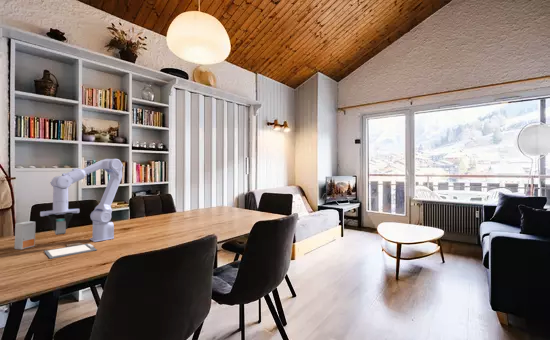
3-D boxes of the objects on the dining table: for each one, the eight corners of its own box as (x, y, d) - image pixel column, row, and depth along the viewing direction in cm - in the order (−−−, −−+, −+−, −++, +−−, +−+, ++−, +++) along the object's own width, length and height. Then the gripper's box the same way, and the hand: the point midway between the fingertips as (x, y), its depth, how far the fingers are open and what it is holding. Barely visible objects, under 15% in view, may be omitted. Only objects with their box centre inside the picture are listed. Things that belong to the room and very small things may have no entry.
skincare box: (21, 249, 124) (21, 223, 124) (14, 249, 125) (14, 223, 125) (35, 246, 130) (36, 221, 130) (28, 245, 131) (29, 220, 131)
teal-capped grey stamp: (64, 232, 130) (64, 218, 130) (65, 233, 128) (65, 219, 128) (54, 233, 128) (54, 219, 128) (56, 235, 125) (56, 220, 125)
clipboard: (88, 244, 135) (88, 242, 135) (96, 250, 125) (96, 248, 125) (44, 251, 122) (44, 249, 122) (50, 259, 113) (50, 256, 113)
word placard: (80, 242, 137) (80, 242, 137) (82, 244, 134) (82, 243, 134) (65, 245, 132) (65, 244, 132) (67, 246, 130) (67, 246, 130)
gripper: (77, 199, 136) (76, 225, 136) (39, 201, 125) (39, 230, 125) (80, 200, 131) (80, 228, 131) (41, 203, 120) (41, 233, 120)
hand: (60, 229), depth 128 cm, fingers closed on teal-capped grey stamp, 4 cm apart
